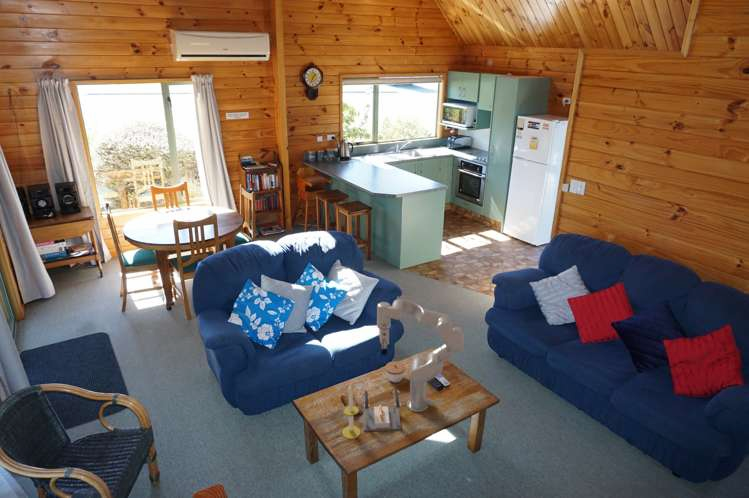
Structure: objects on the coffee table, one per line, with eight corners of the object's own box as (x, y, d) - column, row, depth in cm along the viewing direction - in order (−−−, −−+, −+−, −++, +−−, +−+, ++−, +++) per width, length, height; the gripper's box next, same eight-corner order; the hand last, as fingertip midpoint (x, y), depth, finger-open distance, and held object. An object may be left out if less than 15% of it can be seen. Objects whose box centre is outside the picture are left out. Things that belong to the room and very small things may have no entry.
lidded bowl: (384, 373, 330) (384, 359, 326) (403, 372, 331) (403, 358, 327) (386, 385, 318) (386, 371, 314) (406, 384, 320) (406, 369, 315)
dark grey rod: (367, 392, 290) (367, 390, 290) (368, 409, 277) (368, 407, 276) (364, 392, 290) (364, 390, 290) (365, 409, 277) (365, 407, 276)
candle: (346, 441, 274) (344, 391, 262) (339, 429, 282) (338, 380, 270) (363, 435, 278) (362, 386, 266) (356, 424, 286) (355, 375, 274)
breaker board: (398, 410, 297) (398, 388, 291) (401, 429, 282) (401, 407, 276) (363, 411, 296) (362, 389, 290) (363, 431, 281) (363, 408, 275)
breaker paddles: (382, 409, 291) (380, 404, 290) (383, 419, 283) (381, 414, 282) (380, 409, 291) (378, 405, 290) (380, 419, 283) (379, 415, 282)
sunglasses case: (365, 413, 294) (360, 407, 291) (356, 421, 293) (350, 415, 290) (353, 395, 309) (348, 389, 306) (344, 403, 308) (338, 397, 305)
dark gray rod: (397, 391, 291) (397, 389, 290) (399, 408, 277) (399, 405, 277) (394, 391, 291) (394, 389, 290) (396, 408, 277) (396, 406, 277)
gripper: (391, 331, 276) (391, 358, 283) (389, 315, 292) (389, 341, 299) (377, 332, 276) (377, 358, 282) (376, 316, 292) (376, 341, 298)
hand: (383, 349), depth 290 cm, fingers open, 9 cm apart
